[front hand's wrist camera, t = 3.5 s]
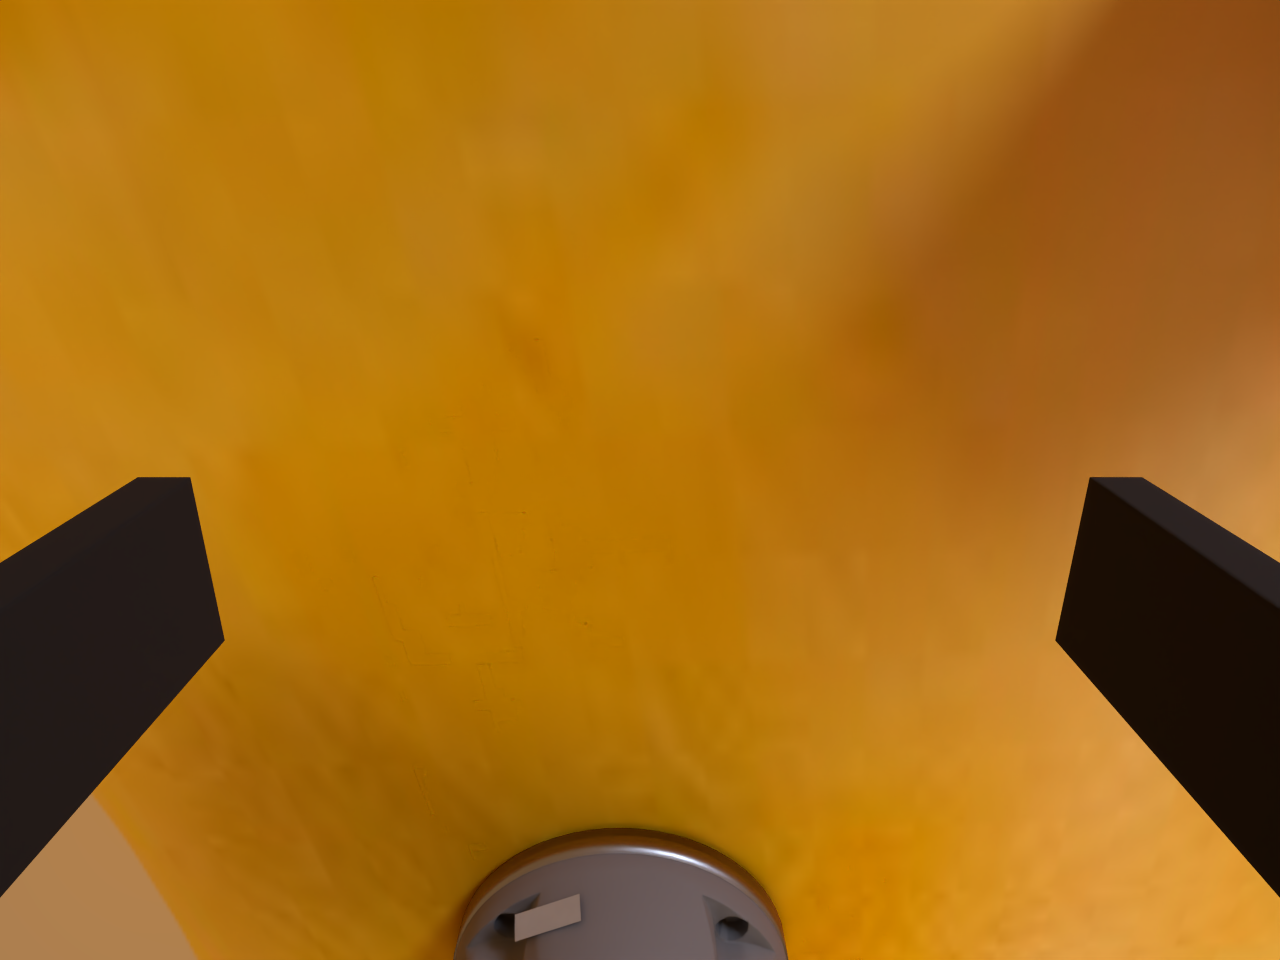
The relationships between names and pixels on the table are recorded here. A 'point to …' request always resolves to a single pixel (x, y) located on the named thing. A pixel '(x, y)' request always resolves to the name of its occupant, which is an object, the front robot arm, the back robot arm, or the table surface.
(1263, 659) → the front robot arm
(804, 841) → the table surface
